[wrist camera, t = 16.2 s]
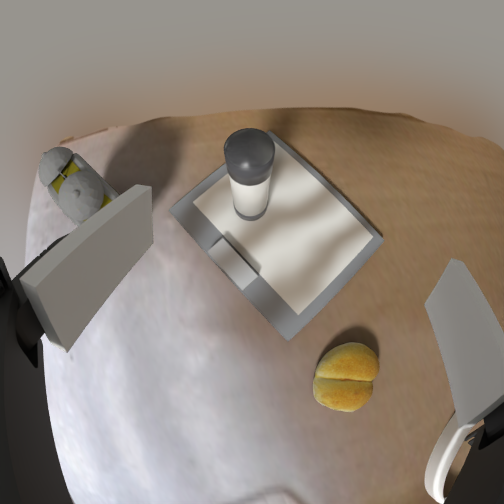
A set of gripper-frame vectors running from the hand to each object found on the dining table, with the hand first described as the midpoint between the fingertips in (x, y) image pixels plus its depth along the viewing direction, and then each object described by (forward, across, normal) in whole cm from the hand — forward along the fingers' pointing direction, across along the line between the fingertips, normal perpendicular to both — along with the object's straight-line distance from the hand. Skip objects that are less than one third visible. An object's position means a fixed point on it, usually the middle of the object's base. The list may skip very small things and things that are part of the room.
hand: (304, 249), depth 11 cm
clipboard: (+22, -1, -11) cm, 25 cm away
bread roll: (+10, +12, -23) cm, 28 cm away
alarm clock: (+19, -23, -14) cm, 33 cm away
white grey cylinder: (+22, -5, -9) cm, 24 cm away
